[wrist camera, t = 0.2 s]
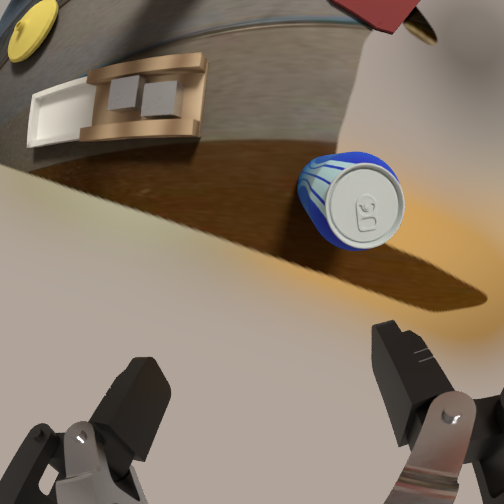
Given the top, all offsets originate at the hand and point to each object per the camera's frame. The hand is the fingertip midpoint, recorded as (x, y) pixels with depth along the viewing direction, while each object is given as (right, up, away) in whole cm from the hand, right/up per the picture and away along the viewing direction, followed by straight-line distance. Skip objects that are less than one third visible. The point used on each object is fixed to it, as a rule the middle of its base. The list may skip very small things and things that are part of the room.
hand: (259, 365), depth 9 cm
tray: (-31, +27, +24) cm, 48 cm away
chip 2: (-11, +24, +22) cm, 34 cm away
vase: (-45, +50, +18) cm, 69 cm away
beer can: (+10, +12, +25) cm, 30 cm away
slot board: (-15, +25, +23) cm, 37 cm away
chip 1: (-17, +26, +22) cm, 37 cm away
